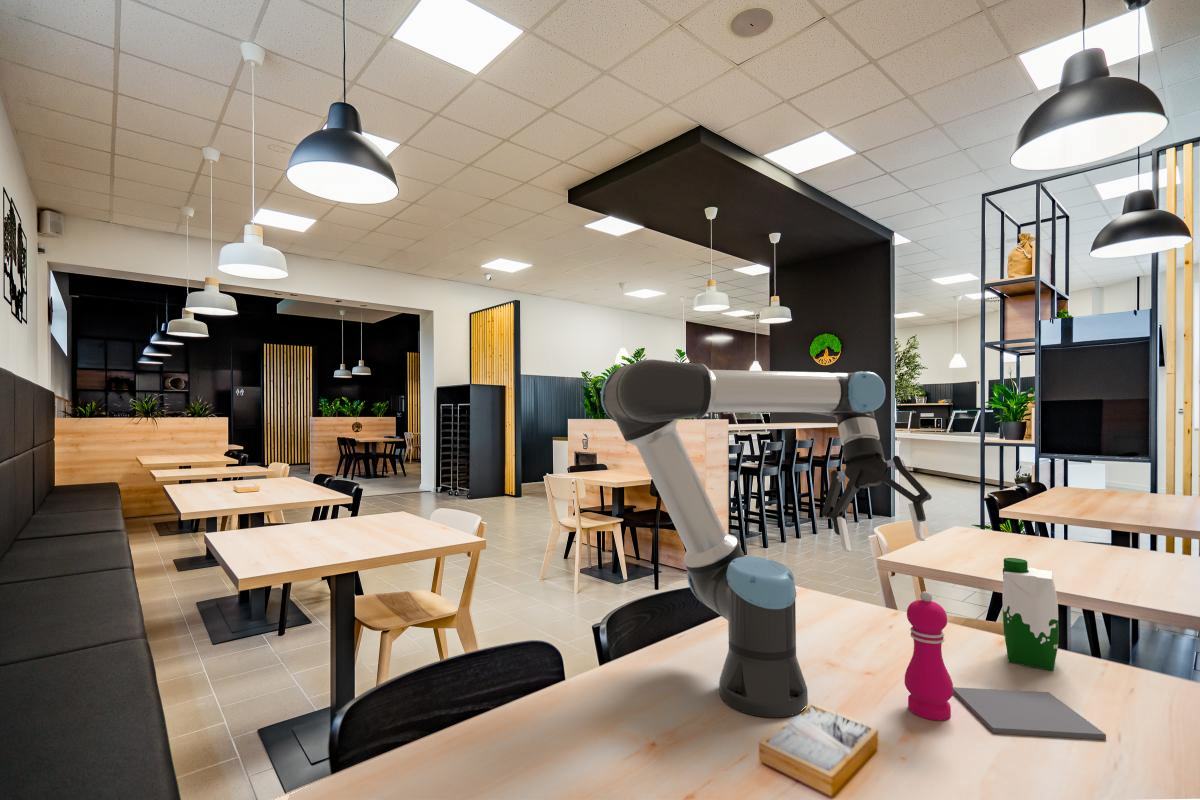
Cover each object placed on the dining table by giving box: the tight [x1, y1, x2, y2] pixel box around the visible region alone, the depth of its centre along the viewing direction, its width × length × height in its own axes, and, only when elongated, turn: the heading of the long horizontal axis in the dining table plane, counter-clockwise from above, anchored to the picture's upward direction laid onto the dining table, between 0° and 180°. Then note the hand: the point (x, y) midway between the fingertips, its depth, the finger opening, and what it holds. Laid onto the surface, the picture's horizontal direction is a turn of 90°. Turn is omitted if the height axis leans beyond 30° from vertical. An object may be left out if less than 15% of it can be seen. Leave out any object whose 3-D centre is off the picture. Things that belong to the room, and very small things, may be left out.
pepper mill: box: [904, 590, 954, 721], centre depth 99 cm, size 7×7×20 cm
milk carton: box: [1001, 557, 1060, 672], centre depth 119 cm, size 9×9×20 cm
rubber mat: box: [953, 686, 1107, 740], centre depth 97 cm, size 16×14×1 cm
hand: (882, 545), depth 112 cm, fingers open, 13 cm apart
